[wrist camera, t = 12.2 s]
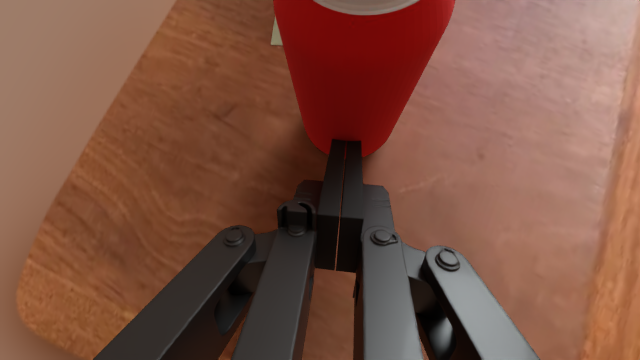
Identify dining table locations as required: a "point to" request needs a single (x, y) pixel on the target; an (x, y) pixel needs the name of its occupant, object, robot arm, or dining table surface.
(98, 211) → the dining table surface
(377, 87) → the beverage can
